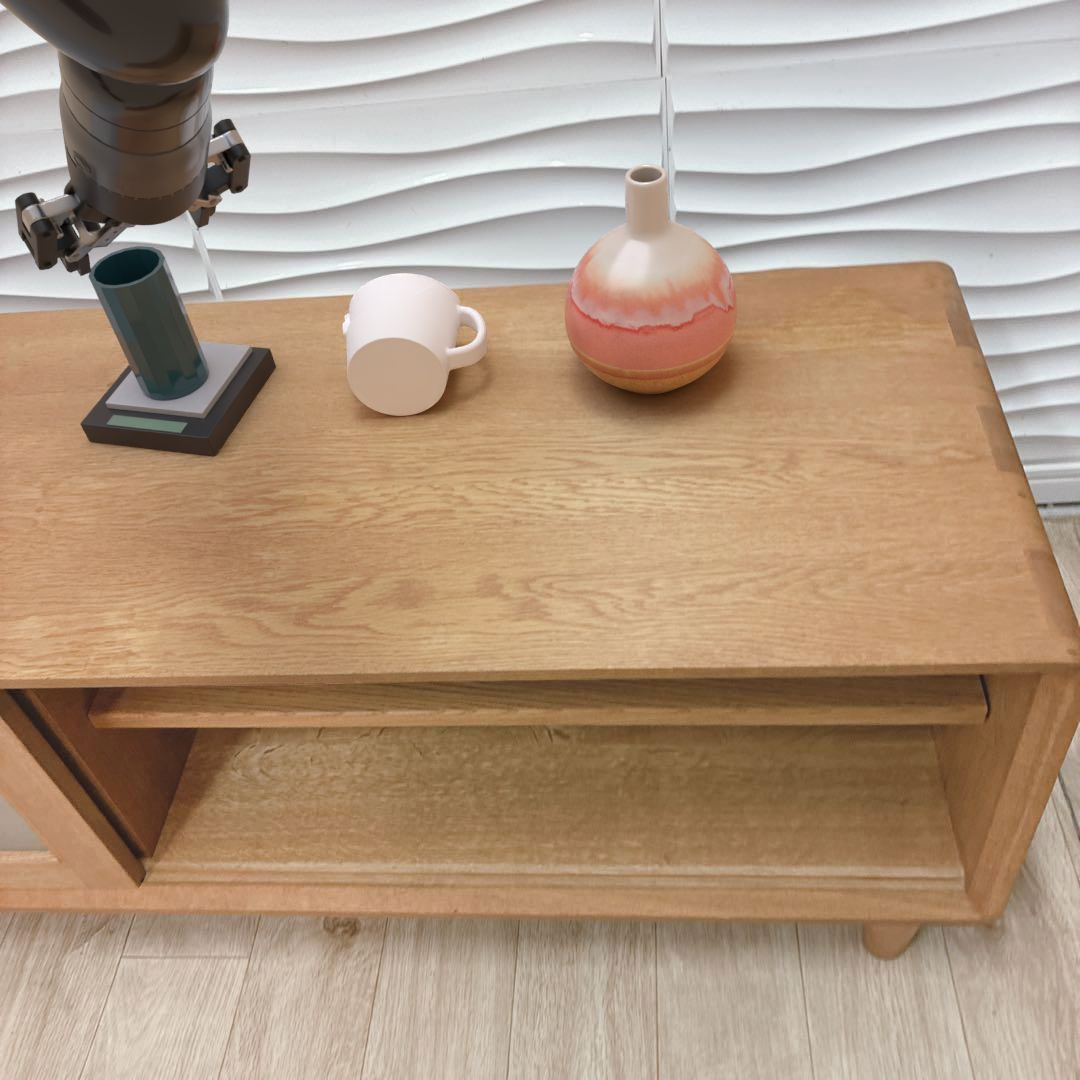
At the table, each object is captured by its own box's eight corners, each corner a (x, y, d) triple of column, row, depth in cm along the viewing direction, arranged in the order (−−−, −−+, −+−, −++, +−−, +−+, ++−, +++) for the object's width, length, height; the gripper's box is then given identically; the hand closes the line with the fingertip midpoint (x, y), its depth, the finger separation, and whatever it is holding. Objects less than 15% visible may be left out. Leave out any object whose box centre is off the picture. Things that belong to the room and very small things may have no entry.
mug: (349, 421, 89) (326, 342, 83) (359, 353, 96) (339, 276, 90) (493, 408, 88) (479, 328, 83) (493, 340, 95) (481, 262, 89)
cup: (189, 403, 89) (140, 290, 81) (128, 397, 90) (74, 285, 82) (221, 360, 92) (177, 248, 84) (161, 355, 94) (113, 244, 86)
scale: (215, 456, 88) (204, 432, 86) (89, 441, 91) (76, 418, 89) (276, 366, 96) (268, 342, 94) (158, 355, 98) (148, 332, 97)
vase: (741, 419, 85) (751, 216, 72) (568, 427, 86) (547, 230, 73) (728, 317, 94) (734, 122, 81) (572, 326, 95) (554, 135, 83)
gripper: (222, 25, 60) (205, 151, 75) (-30, 109, 55) (6, 226, 70) (288, 146, 61) (259, 247, 76) (45, 240, 56) (65, 329, 71)
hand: (137, 237), depth 73 cm, fingers open, 8 cm apart
